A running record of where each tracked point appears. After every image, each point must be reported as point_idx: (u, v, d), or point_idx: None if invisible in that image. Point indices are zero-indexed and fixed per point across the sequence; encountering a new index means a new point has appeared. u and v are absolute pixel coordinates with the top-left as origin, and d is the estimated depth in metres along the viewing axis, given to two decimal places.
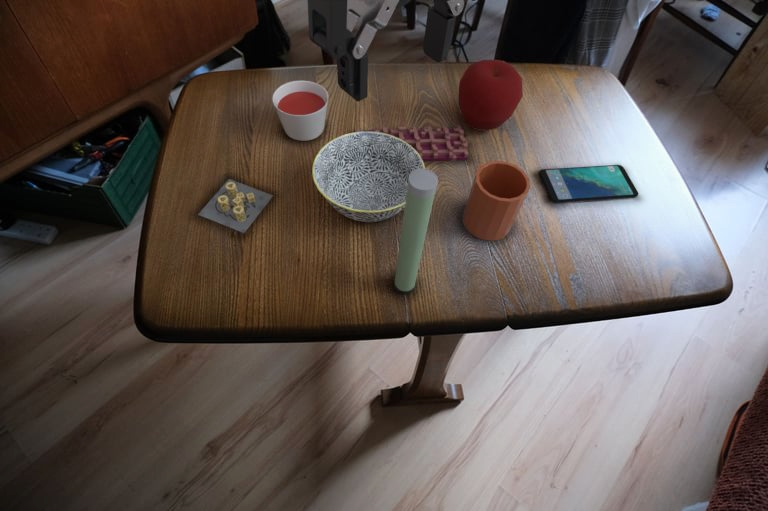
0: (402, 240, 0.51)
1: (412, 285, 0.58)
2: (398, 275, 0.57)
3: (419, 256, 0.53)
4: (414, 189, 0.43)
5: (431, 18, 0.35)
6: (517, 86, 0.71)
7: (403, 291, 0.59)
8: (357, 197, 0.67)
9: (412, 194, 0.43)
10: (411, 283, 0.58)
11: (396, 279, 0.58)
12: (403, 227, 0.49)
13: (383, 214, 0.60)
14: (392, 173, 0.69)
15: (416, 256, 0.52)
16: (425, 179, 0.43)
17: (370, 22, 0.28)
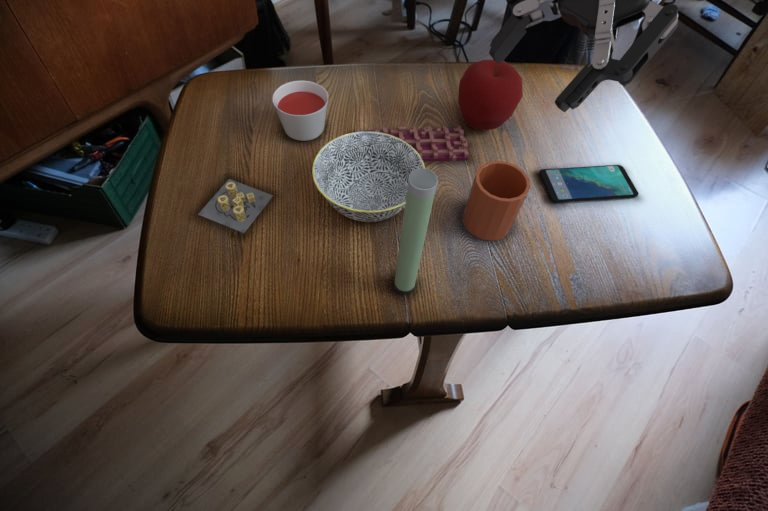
0: (402, 240, 0.51)
1: (412, 285, 0.58)
2: (398, 275, 0.57)
3: (419, 256, 0.53)
4: (414, 189, 0.43)
5: None
6: (517, 87, 0.71)
7: (403, 291, 0.59)
8: (357, 197, 0.67)
9: (412, 194, 0.43)
10: (411, 283, 0.58)
11: (396, 279, 0.58)
12: (403, 227, 0.49)
13: (383, 214, 0.60)
14: (392, 173, 0.69)
15: (416, 256, 0.52)
16: (425, 179, 0.43)
17: None
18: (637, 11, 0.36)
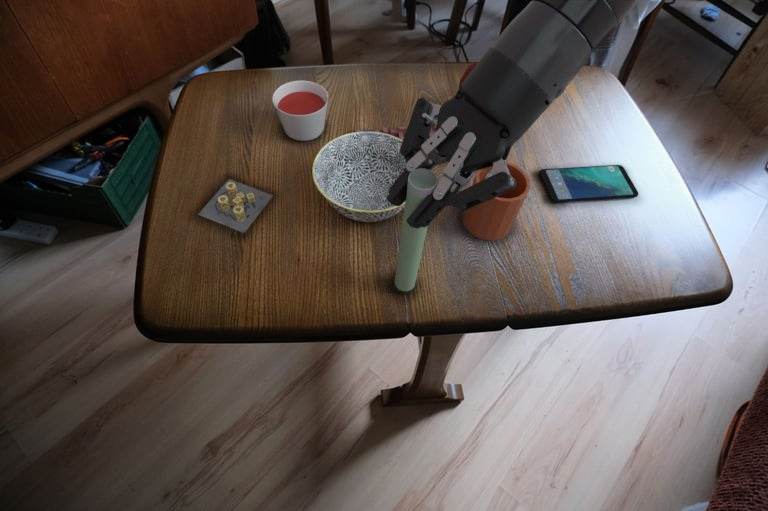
0: (402, 240, 0.51)
1: (412, 285, 0.58)
2: (398, 276, 0.57)
3: (419, 256, 0.53)
4: (414, 189, 0.43)
5: None
6: None
7: (403, 291, 0.59)
8: (357, 197, 0.67)
9: (412, 194, 0.43)
10: (411, 283, 0.58)
11: (396, 279, 0.58)
12: (403, 227, 0.49)
13: (383, 214, 0.60)
14: (392, 173, 0.69)
15: (416, 256, 0.52)
16: (425, 178, 0.43)
17: (420, 148, 0.44)
18: (494, 160, 0.40)
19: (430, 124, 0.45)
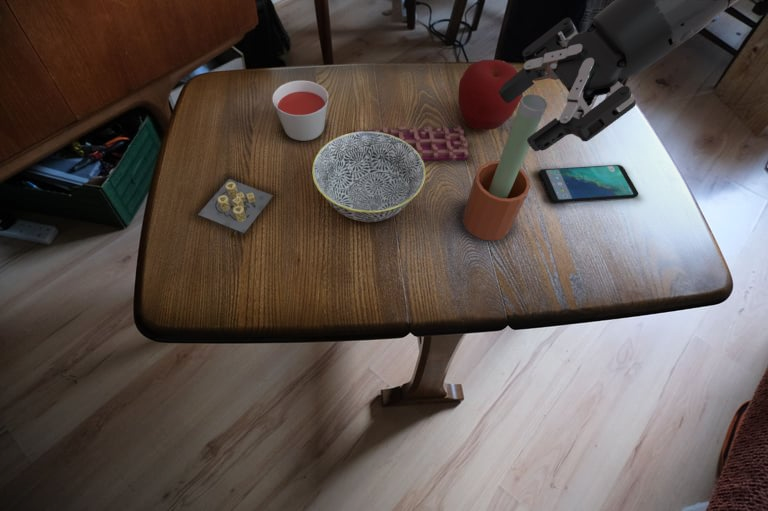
0: (499, 164, 0.58)
1: None
2: None
3: (510, 185, 0.59)
4: (524, 108, 0.50)
5: None
6: None
7: None
8: (357, 197, 0.67)
9: (521, 113, 0.50)
10: None
11: None
12: (504, 150, 0.56)
13: (383, 214, 0.60)
14: (392, 173, 0.69)
15: (507, 184, 0.59)
16: (536, 102, 0.50)
17: (543, 55, 0.50)
18: (605, 86, 0.45)
19: (560, 44, 0.50)
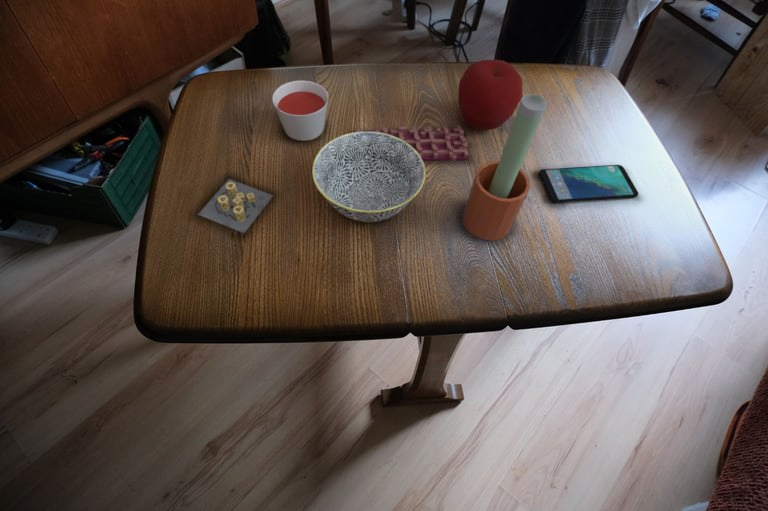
0: (499, 164, 0.58)
1: None
2: None
3: (510, 185, 0.59)
4: (524, 108, 0.50)
5: None
6: (517, 86, 0.71)
7: None
8: (357, 197, 0.67)
9: (521, 113, 0.50)
10: None
11: None
12: (504, 150, 0.56)
13: (383, 214, 0.60)
14: (392, 173, 0.69)
15: (507, 184, 0.59)
16: (536, 102, 0.50)
17: None
18: None
19: None
